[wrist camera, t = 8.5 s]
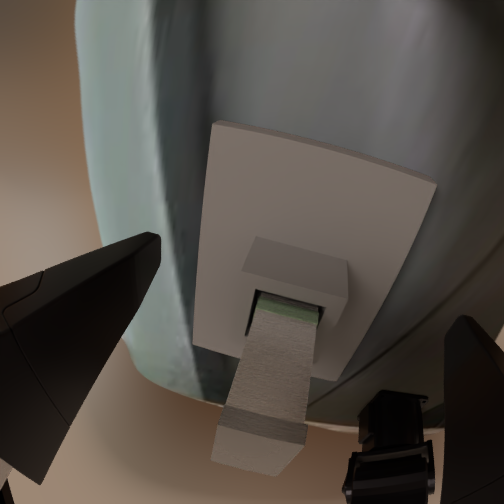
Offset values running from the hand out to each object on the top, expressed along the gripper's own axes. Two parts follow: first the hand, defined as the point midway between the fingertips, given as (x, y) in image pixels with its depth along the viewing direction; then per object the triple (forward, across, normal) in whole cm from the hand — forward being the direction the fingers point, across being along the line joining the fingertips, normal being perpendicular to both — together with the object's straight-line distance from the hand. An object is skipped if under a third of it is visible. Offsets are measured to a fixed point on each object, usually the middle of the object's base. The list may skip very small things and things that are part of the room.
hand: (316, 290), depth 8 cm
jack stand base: (+13, 0, +9) cm, 16 cm away
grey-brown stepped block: (+8, 0, +9) cm, 12 cm away
